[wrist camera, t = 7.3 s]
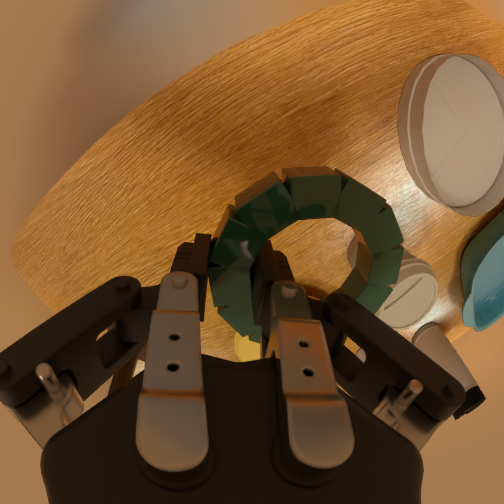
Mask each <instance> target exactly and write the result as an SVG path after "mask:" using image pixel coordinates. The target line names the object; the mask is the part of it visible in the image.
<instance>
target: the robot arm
mask: <svg viewBox="0 0 504 504" xmlns="http://www.w3.org/2000/svg"><path fill="white" fill-rule="evenodd" d="M210 244H211V234H201V233H196V236H195V240H194V243H188V242H184V243H183V244H181V245H180V246H179V247H178V249H177V252H176V255H175V259H174V261H173V264H172V267H171V270H170V273H168V274H166V275H164V276H163V278H162V280H161V284H159V285H155V286H150V287H141V284H140V282H139V281H138V280H137V279H136V278H133V277H130V276H119V277H115V278H113V279H111V280H109V281H107V282H106V283H104V284H103V285H101V286H99V287H98V288H96V289H95V290H93V291H91V292H90V293H88V294H87V295H85V296H83V297H82V298H80V299H79V300H77V301H76V302H74V303H72V304H71V305H69V306H68V307H66V308H65V309H63V310H62V311H60V312H59V313H57V314H56V315H54V316H53V317H51V318H50V319H48V320H47V321H45V322H44V323H42V324H41V325H40V326H38V327H36V328H35V329H33V330H32V331H31V332H29V333H28V334H26V335H25V336H23V337H22V338H20V339H19V340H18V341H16V342H15V343H13V344H12V345H11V346H9V347H8V348H7V349H5V350H4V351H2V352H1V353H0V401H1V402H2V403H3V405H4V406H5V407H6V408H7V409H8V411H9V412H10V413H11V414H12V415H13V416H14V418H15V419H16V420H17V421H18V422H20V423H21V424H22V425H23V426H24V427H25V428H26V429H27V431H28V432H29V433H30V435H31V436H32V437H33V438H34V440H35V441H36V442H37V443H38V444H39V446H40V447H41V448H42V449H43V451H42V455H41V464H40V467H41V474H42V478H43V481H44V484H45V487H46V492H47V496H48V501H49V504H421V484H422V479H423V472H424V469H423V461H422V457H421V455H420V453H419V452H420V450H421V449H422V448H423V446H424V445H425V444H426V442H427V441H428V440H429V439H430V437H431V436H432V435H433V433H434V432H435V430H436V429H438V428H439V427H440V426H441V425H442V424H443V423H444V422H445V421H446V420H447V419H448V418H449V417H450V416H451V415H452V414H453V413H454V412H455V411H456V410H457V409H458V408H459V407H460V406H461V405H462V404H463V403H464V401H465V399H466V393H465V389H464V387H463V386H462V384H461V383H460V382H459V381H458V380H457V379H455V378H454V377H453V376H452V375H451V374H449V373H448V372H447V371H446V370H444V369H443V368H442V367H441V366H439V365H438V364H437V363H436V362H434V361H433V360H432V359H431V358H429V357H428V356H427V355H426V354H424V353H423V352H422V351H421V350H419V349H418V348H417V347H415V346H414V345H413V344H412V343H410V342H409V341H408V340H407V339H405V338H404V337H403V336H401V335H400V334H399V333H398V332H396V331H395V330H394V329H392V328H391V327H390V326H389V325H387V324H386V323H385V322H383V321H382V320H381V319H379V318H378V317H377V316H376V315H374V314H373V313H372V312H370V311H369V310H368V309H366V308H365V307H364V306H362V305H361V304H360V303H359V302H357V301H356V300H355V299H353V298H352V297H350V296H348V295H345V294H341V293H333V294H330V295H329V296H328V297H327V299H326V302H324V301H320V300H317V299H313V298H310V297H308V296H307V293H306V290H305V288H304V287H303V286H302V285H300V284H299V283H296V282H295V280H294V277H293V274H292V271H291V269H290V266H289V264H288V260H287V257H286V256H285V255H284V254H283V253H282V252H281V251H276V250H273V248H272V244H271V241H270V240H266V242H265V244H264V245H263V247H262V249H261V251H260V253H258V256H257V258H256V260H255V262H254V264H253V265H252V267H251V269H250V273H251V285H252V293H251V302H252V310H253V319H254V325H258V326H262V331H261V336H260V359H258V360H252V361H246V362H232V361H228V360H224V359H220V358H217V357H213V356H209V355H206V354H201V340H200V321H201V322H204V313H205V302H206V292H207V282H208V264H209V252H210ZM110 325H112V326H113V328H112V329H111V330H110V331H108V332H107V333H106V334H105V335H103V336H102V337H101V338H99V339H98V340H97V341H96V339H97V337H98V335H99V334H100V333H101V332H102V331H104V330H105V329H106V328H108V327H109V326H110ZM347 337H349V338H350V339H351V340H352V341H354V342H355V343H356V344H357V345H358V346H359V347H361V348H362V349H363V350H364V352H365V355H366V360H365V362H363V361H361V360H360V359H359V358H358V357H357V356H356V355H355V354H354V353H352V352H351V351H350V350H349V349H348V348H347V347H346V346H344V343H345V341H346V339H347ZM147 341H148V344H147V352H146V360H145V368H144V370H143V371H141V372H140V373H139V374H137V375H136V376H135V377H133V378H132V379H130V380H129V381H128V382H126V383H125V384H124V385H122V386H121V387H120V388H118V389H117V390H115V391H114V392H113V393H111V394H110V395H109V396H107V397H106V398H104V399H103V400H102V401H101V402H99V403H98V404H96V405H95V406H93V407H92V408H91V409H89V410H88V411H86V412H85V413H84V414H82V413H83V409H84V403H83V402H84V401H85V400H86V399H87V398H88V397H89V396H90V395H91V394H93V393H94V392H95V391H96V390H97V389H98V388H99V387H100V386H101V385H102V384H104V383H105V382H106V381H107V380H108V379H109V378H110V377H111V376H112V375H114V374H115V373H116V372H117V371H118V370H119V369H120V368H121V367H122V366H124V365H125V364H126V363H127V362H128V361H129V360H130V359H131V358H132V357H133V356H135V355H136V354H137V353H138V352H139V351H140V350H141V349H142V348H143V347H144V346H145V345H146V343H147ZM336 382H337V383H338V384H339V385H340V386H341V387H342V388H343V389H344V390H345V391H346V392H347V393H348V394H349V395H350V396H351V397H350V396H349V395H348V394H346V393H345V392H344V391H343V390H341V389H340V388H339V387H337V384H336Z"/></svg>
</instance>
